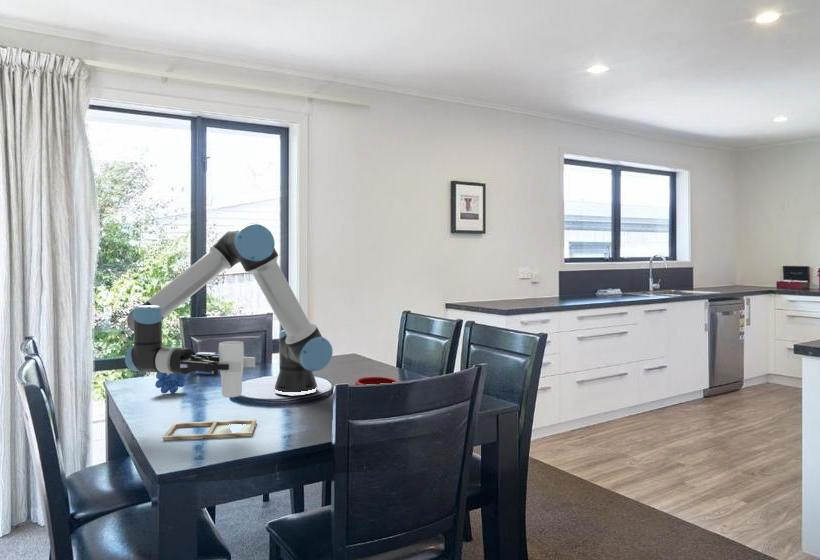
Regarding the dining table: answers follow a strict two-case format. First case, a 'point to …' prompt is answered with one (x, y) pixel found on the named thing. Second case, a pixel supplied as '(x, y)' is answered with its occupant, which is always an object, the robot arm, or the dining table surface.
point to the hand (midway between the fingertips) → (247, 364)
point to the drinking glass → (231, 379)
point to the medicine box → (205, 372)
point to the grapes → (170, 381)
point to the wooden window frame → (213, 429)
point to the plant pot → (374, 380)
